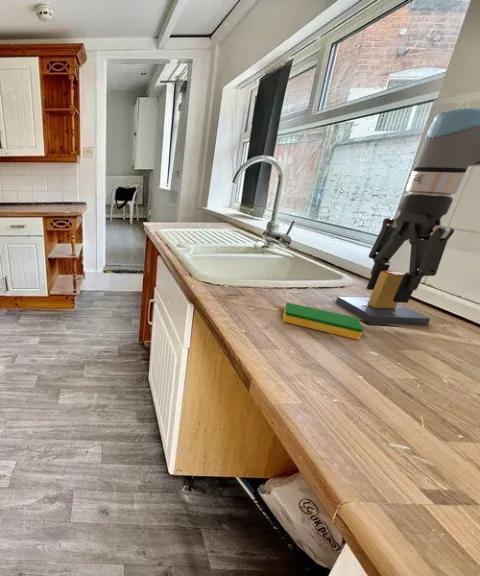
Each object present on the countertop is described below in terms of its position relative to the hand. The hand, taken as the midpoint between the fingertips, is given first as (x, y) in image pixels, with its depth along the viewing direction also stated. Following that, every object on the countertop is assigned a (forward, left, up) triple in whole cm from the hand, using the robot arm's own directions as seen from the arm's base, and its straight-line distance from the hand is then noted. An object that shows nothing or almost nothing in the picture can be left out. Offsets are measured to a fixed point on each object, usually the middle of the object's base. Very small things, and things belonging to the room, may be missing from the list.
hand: (385, 295), depth 72 cm
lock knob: (0, 0, -3) cm, 3 cm away
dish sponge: (+15, +12, -6) cm, 20 cm away
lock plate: (0, 0, -6) cm, 6 cm away
